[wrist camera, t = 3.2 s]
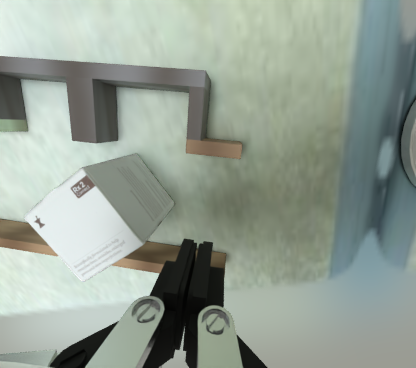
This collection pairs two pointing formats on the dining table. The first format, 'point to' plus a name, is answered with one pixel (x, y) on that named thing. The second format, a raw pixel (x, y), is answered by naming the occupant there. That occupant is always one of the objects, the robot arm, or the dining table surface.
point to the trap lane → (106, 129)
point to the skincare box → (101, 214)
